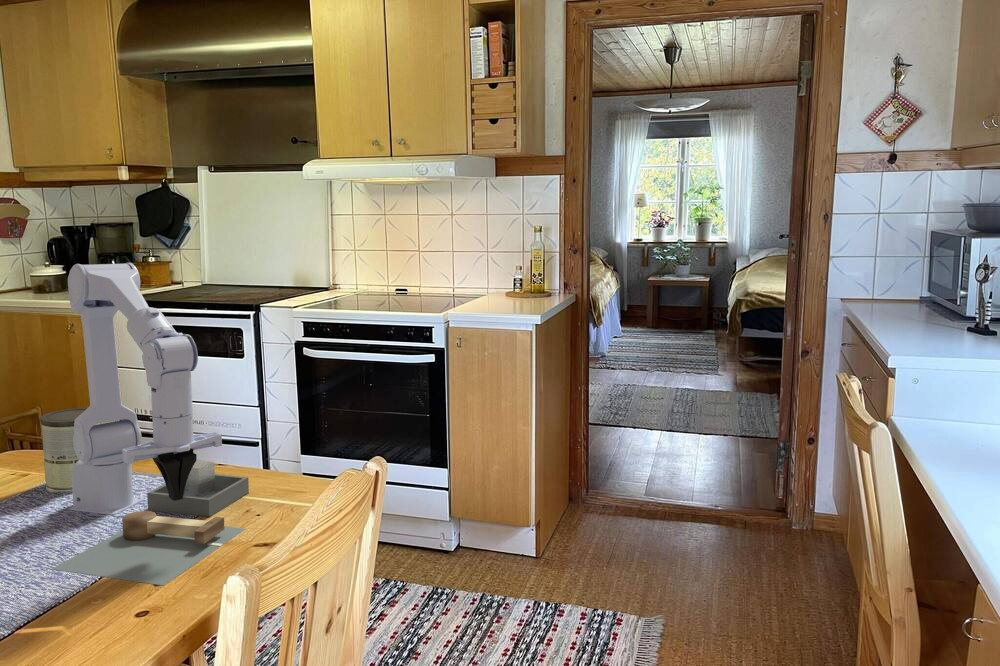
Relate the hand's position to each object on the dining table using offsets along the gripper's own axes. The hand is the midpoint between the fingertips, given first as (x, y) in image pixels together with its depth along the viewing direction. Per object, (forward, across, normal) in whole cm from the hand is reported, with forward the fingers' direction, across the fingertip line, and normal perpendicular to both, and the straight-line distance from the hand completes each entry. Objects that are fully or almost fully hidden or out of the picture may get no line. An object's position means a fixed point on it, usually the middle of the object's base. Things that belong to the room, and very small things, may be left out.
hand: (176, 498), depth 120 cm
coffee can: (+9, -3, +43) cm, 44 cm away
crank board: (+8, -3, +2) cm, 9 cm away
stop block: (+8, +11, +17) cm, 21 cm away
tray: (+8, +11, +17) cm, 22 cm away
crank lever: (+8, 0, +4) cm, 9 cm away
